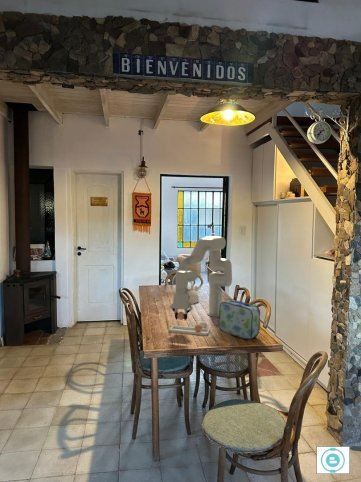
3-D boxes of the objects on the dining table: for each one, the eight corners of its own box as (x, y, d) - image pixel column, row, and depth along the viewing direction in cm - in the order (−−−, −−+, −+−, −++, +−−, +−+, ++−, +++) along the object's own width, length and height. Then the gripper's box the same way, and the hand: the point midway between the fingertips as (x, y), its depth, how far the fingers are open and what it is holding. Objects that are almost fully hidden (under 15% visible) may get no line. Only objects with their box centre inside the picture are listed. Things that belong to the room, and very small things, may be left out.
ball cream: (200, 327, 218) (200, 319, 217) (207, 328, 216) (207, 320, 216) (198, 329, 213) (198, 322, 212) (206, 330, 212) (206, 322, 211)
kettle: (203, 302, 281) (203, 281, 280) (181, 305, 272) (181, 283, 271) (192, 297, 299) (192, 277, 298) (171, 299, 290) (171, 279, 289)
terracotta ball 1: (178, 318, 212) (178, 310, 211) (185, 318, 210) (185, 311, 210) (176, 320, 207) (176, 312, 206) (183, 321, 206) (184, 313, 205)
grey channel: (172, 329, 215) (172, 325, 215) (209, 332, 209) (209, 328, 209) (169, 333, 207) (169, 329, 207) (207, 337, 201) (207, 333, 201)
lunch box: (262, 338, 201) (263, 304, 199) (252, 342, 193) (253, 307, 192) (227, 327, 219) (228, 296, 218) (217, 331, 212) (217, 298, 210)
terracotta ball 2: (195, 330, 210) (195, 322, 209) (203, 331, 209) (203, 323, 208) (193, 333, 205) (193, 325, 205) (201, 334, 204) (201, 326, 203)
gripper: (196, 290, 209) (195, 318, 210) (170, 288, 213) (169, 316, 214) (193, 292, 202) (193, 322, 203) (166, 291, 206) (166, 319, 207)
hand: (181, 319), depth 209 cm, fingers closed on terracotta ball 1, 4 cm apart
